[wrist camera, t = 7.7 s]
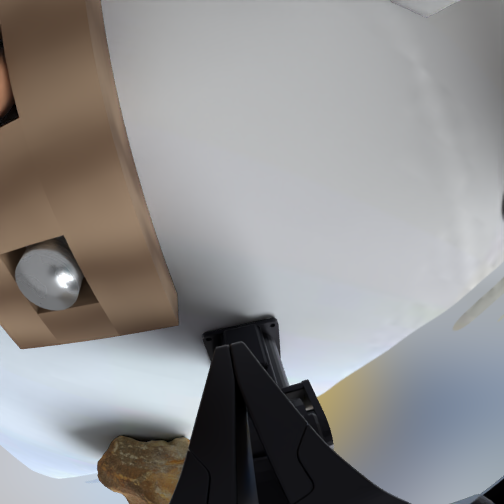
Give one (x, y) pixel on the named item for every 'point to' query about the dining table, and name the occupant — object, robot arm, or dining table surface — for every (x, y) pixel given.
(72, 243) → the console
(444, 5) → the flask
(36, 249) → the steel plunger
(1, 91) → the peach rounded cylinder
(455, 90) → the dining table surface
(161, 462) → the rough brown rock
